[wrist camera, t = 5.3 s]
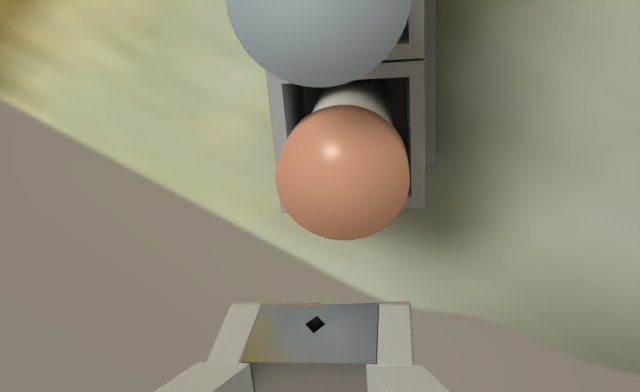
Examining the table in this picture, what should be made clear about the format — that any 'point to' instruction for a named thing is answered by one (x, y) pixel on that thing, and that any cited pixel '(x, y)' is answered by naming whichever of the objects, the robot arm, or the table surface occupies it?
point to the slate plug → (318, 36)
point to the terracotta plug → (345, 164)
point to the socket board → (402, 88)
